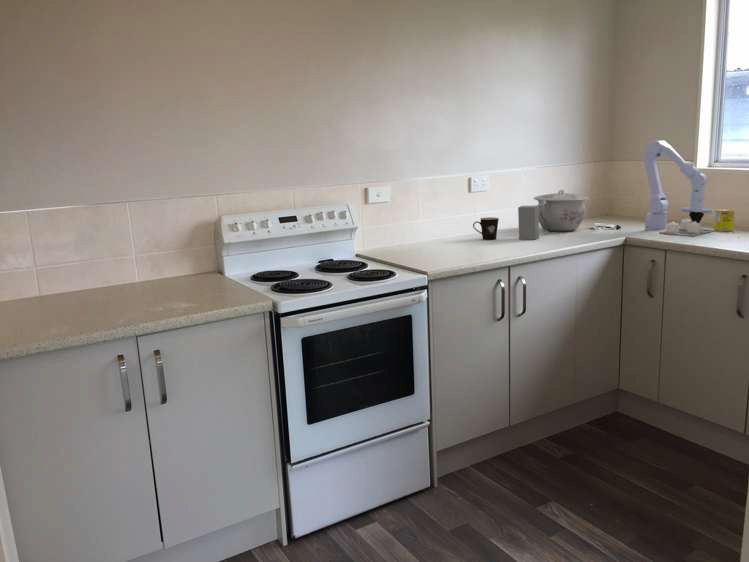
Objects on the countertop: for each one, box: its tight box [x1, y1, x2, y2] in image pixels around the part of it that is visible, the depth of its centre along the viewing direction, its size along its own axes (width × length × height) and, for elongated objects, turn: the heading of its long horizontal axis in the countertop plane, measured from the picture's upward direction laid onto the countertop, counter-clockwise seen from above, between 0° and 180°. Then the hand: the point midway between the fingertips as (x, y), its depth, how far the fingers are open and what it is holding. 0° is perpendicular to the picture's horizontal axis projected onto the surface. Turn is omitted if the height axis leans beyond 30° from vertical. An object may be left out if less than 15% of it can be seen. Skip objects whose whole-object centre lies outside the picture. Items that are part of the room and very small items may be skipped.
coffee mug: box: [472, 216, 500, 241], centre depth 319 cm, size 12×9×10 cm
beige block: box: [687, 221, 701, 233], centre depth 310 cm, size 4×4×5 cm
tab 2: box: [679, 218, 692, 230], centre depth 319 cm, size 4×4×5 cm
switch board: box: [658, 227, 718, 238], centre depth 312 cm, size 16×24×2 cm, turn 130°
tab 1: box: [665, 221, 680, 234], centre depth 310 cm, size 4×4×5 cm
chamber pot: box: [533, 189, 590, 233], centre depth 341 cm, size 28×28×21 cm
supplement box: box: [714, 209, 735, 232], centre depth 315 cm, size 6×6×11 cm
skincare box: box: [517, 204, 540, 240], centre depth 315 cm, size 8×7×16 cm
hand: (695, 228), depth 316 cm, fingers closed
